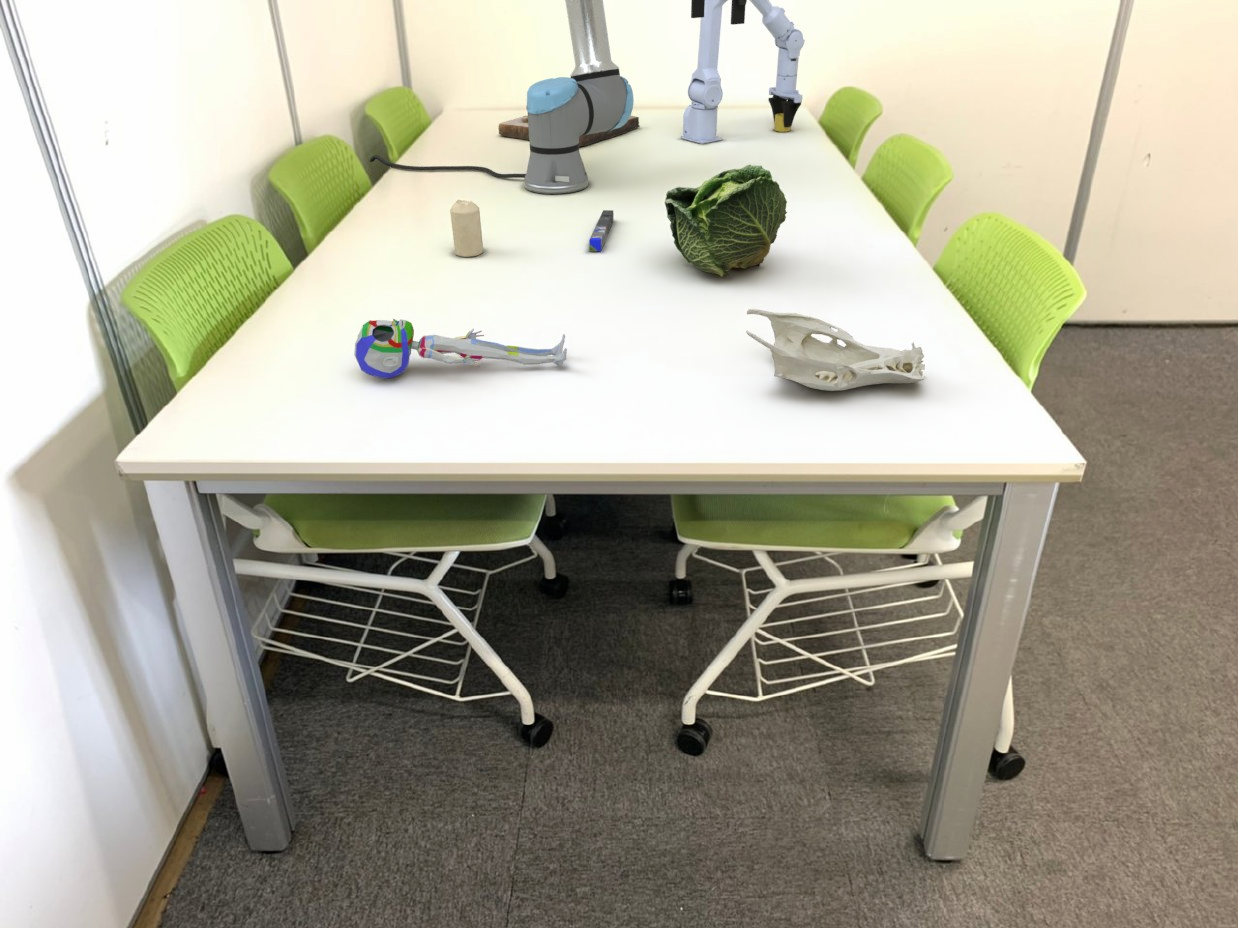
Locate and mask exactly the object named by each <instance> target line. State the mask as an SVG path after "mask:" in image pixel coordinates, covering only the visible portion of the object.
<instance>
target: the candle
mask: <svg viewBox="0 0 1238 928" xmlns="http://www.w3.org/2000/svg"><path fill="white" fill-rule="evenodd" d="M449 212H450V213H449V214H450V222H451V228H452V231H451V232H452V239H453V247H454V253H455V255H457V256H459V257H465V258H466V257H467V258H468V257H475V256H479V255H481V254H483V252H484V242H483V234H482V233H483V232H482V231H483V230H482V222H481V221H482V220H481V212H480V207H479V205H478V204H476V203H475V202H474V201H472V200H470V201H468V200H465V199H464V200H462V199H457V200H456V201H455V202H454V203H453V205H452V206H451V207H450V209H449Z"/></svg>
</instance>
